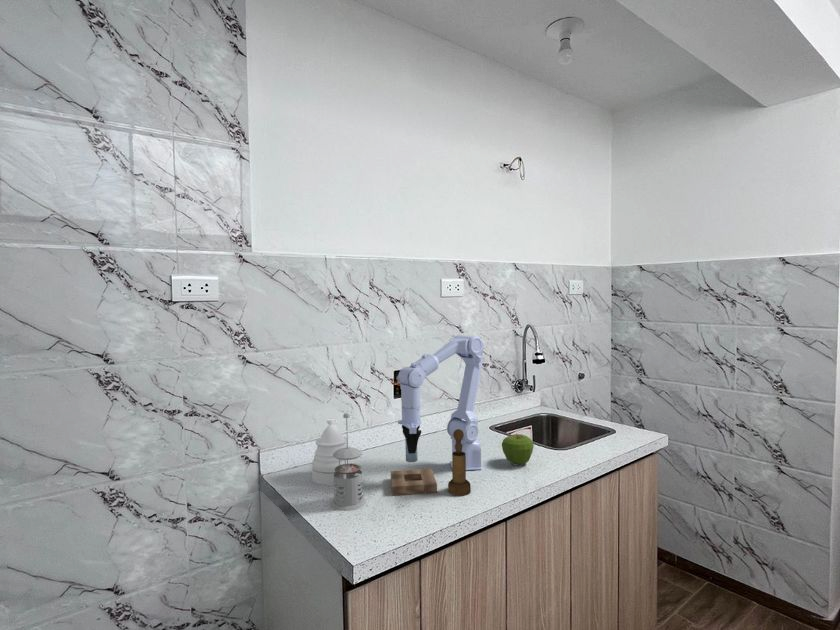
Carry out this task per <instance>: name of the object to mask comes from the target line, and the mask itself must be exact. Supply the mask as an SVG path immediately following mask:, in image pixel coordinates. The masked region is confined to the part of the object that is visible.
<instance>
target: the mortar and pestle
mask: <svg viewBox="0 0 840 630" xmlns="http://www.w3.org/2000/svg"><path fill="white" fill-rule="evenodd" d="M453 436H454V438H455V440H456V445H455V449H456V451H455V452H453V453H452V452H451V459H452V460H451V461H452V467H451V469H452V479H451V480H450V481H449V482H448V483H447V485H448V486H447V487H448V488H447V491H448V493H449V494H450V495H453V496H456V497H457V496H458V497H463V496H467V495H469V494H470V493H471V490H472V488H471V487H472V486H471V483H470V481H468V479H467V476H466V475H467V470H466V454H465V453H464V452H462V447H463V445H462V444H461V440H462V439H463V436H464V433H463V431H462V430H460V429H457V430H455V431H454V433H453Z"/></svg>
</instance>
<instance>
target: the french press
mask: <svg viewBox="0 0 840 630" xmlns="http://www.w3.org/2000/svg"><path fill="white" fill-rule="evenodd" d="M350 417H351V414H350V413H349V412H346V413H344V414H343V416H342V418H344V419H345V420H346V421H345V422H346V429H345V430H348V418H350ZM348 436H349V435H348V433H346V438H347V442H346V444H347V447H345V448H341V449H339V450H337V451H336V452H334V453H333V457H335V458H336V459H339V466H337V467H336V468H335V471H336V472H335V473H334V482H335V483H336V484H333V496H334V497H333V500H332V501H331V503H330V507H331V508H332V509H333V510H336V511H340V512H348V511H354V510H359V509H361V508H362V507H364V506H365V505H366V504H367V500H366V498H365V497H364V496H363V471H362V470H361V469H362V467H361V465H360V464H357V463H353V464H351V463H349V464H348V460H357V459H358V458H360V457H361V456H362V455H363V451H362V450H360V449H358V448H357V447H352V446H349V445H348V444H349V443H348V442H349V441H348V440H349V439H348V438H349V437H348ZM340 460H345V464H342V465H340ZM346 460H347V464H346ZM343 474H346V479H344V476H343ZM356 474H360V475H356Z"/></svg>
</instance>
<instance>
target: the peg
mask: <svg viewBox="0 0 840 630" xmlns="http://www.w3.org/2000/svg"><path fill="white" fill-rule="evenodd" d="M404 438H405V437H404ZM404 441H405V462H407V463H416V462H418V448H417V449H416V453H411V454H409V452H408V448H407V442H406V438H405V439H404Z"/></svg>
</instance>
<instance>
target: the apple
mask: <svg viewBox="0 0 840 630" xmlns="http://www.w3.org/2000/svg"><path fill="white" fill-rule="evenodd" d="M534 446H535V445H534V442H533V440H532V438H530V437H529V436H527V435H524V434H512V435H508V436H506V437H504V438H503V440H502V442H501V447H502V448H501V449H502V452H503V454H504V456H505V458H506V460H507V461H508V462H510V463H511V464H512V465H513V466H524V465H525V464H527V463H528V462H529V461H530V459H531V456H532V454H533V451H534Z"/></svg>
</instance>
